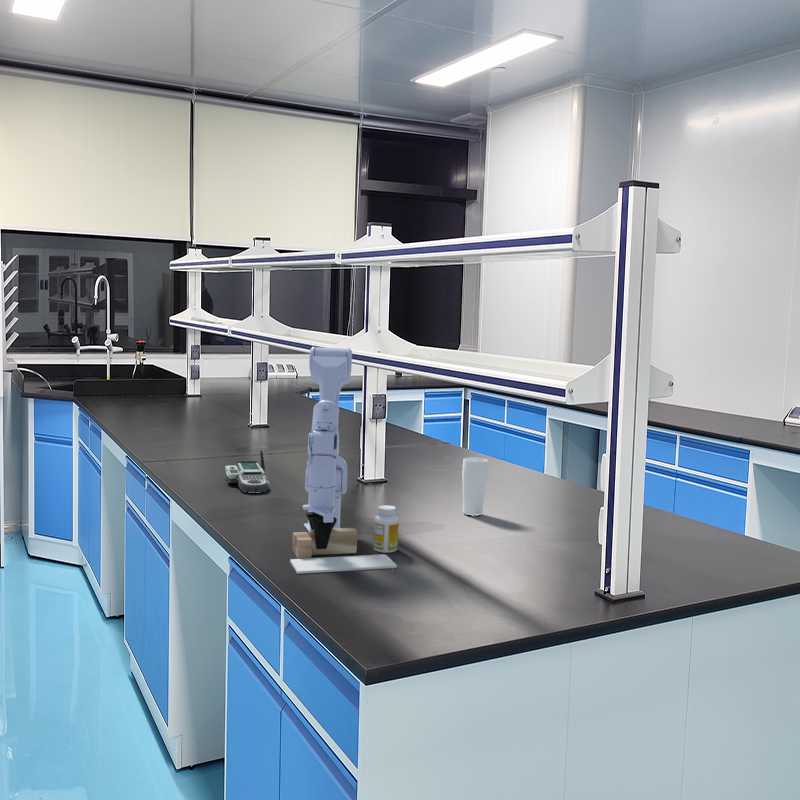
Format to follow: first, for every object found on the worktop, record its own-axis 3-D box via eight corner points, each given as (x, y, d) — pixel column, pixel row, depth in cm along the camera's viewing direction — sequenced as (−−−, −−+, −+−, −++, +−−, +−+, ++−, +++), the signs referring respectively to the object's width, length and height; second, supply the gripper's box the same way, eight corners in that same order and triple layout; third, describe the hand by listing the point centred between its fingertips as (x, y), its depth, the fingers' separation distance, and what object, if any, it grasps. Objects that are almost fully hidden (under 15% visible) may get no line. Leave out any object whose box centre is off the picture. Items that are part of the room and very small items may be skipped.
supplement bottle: (396, 546, 185) (398, 504, 184) (397, 553, 179) (399, 510, 178) (373, 545, 184) (375, 503, 183) (373, 552, 179) (375, 509, 178)
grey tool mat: (290, 561, 170) (290, 559, 170) (385, 556, 177) (385, 554, 177) (297, 573, 162) (297, 571, 162) (396, 567, 169) (396, 565, 169)
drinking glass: (470, 518, 213) (473, 462, 211) (454, 512, 219) (457, 458, 217) (490, 516, 217) (493, 461, 215) (474, 510, 222) (477, 456, 221)
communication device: (232, 497, 228) (232, 466, 227) (222, 478, 251) (223, 450, 249) (274, 495, 232) (275, 465, 231) (261, 477, 254) (262, 449, 253)
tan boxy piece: (292, 550, 178) (293, 528, 178) (351, 547, 182) (352, 525, 182) (297, 558, 172) (298, 535, 172) (358, 555, 177) (359, 532, 176)
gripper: (297, 478, 181) (295, 538, 182) (311, 493, 167) (308, 557, 169) (328, 478, 183) (326, 536, 185) (344, 492, 170) (341, 555, 171)
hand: (320, 546), depth 177 cm, fingers closed on tan boxy piece, 2 cm apart
